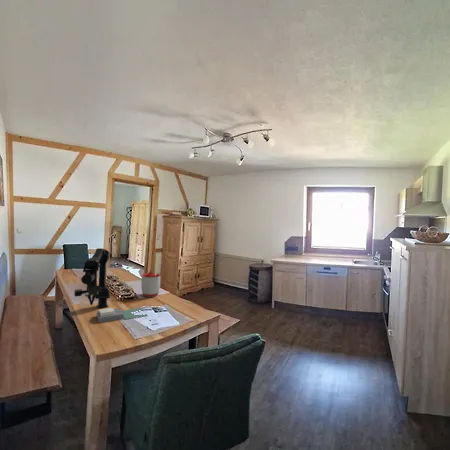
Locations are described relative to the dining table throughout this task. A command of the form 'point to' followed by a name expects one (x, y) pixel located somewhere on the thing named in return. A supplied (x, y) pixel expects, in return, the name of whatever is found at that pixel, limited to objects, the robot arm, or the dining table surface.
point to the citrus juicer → (150, 284)
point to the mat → (129, 315)
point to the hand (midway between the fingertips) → (91, 304)
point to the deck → (110, 316)
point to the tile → (106, 311)
